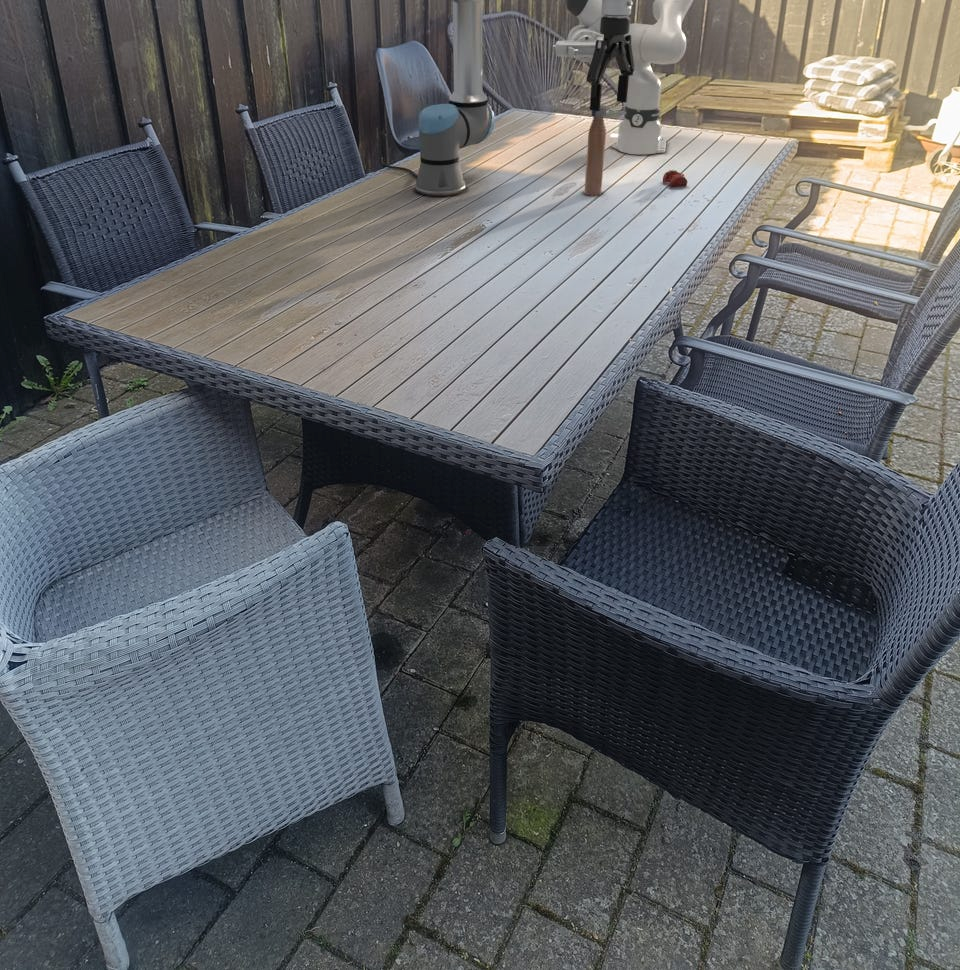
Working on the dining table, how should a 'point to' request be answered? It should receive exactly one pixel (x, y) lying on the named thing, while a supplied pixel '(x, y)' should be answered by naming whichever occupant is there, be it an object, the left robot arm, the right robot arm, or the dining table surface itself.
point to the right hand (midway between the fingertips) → (591, 52)
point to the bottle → (595, 157)
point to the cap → (600, 112)
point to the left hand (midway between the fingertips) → (608, 106)
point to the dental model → (675, 179)
